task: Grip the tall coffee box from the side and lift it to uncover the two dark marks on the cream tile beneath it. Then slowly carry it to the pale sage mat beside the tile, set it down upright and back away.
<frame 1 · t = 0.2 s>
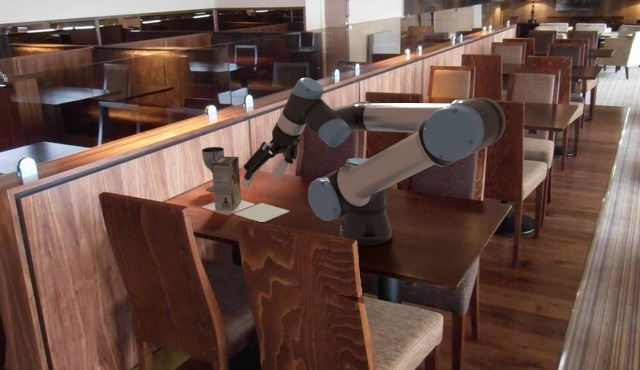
hand: (261, 180, 179), 15 cm above the table, tool tilted 35°, fingers open, 13 cm apart
wine glass: (215, 189, 221), on the table
code tile: (228, 206, 202), on the table
set down mat: (261, 213, 195), on the table
coffee box: (228, 205, 202), resting on code tile
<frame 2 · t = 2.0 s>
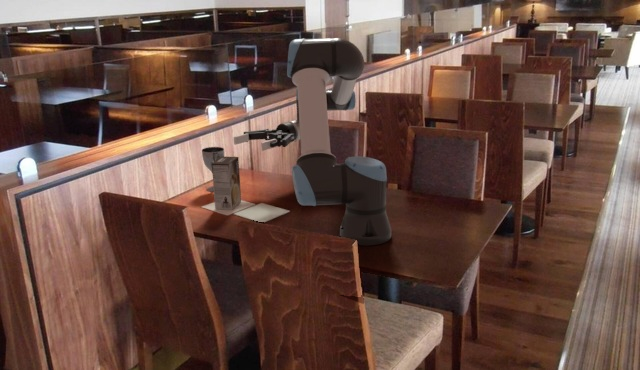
hand: (248, 143, 204), 20 cm above the table, tool horizontal, fingers open, 13 cm apart
nothing on the table moved.
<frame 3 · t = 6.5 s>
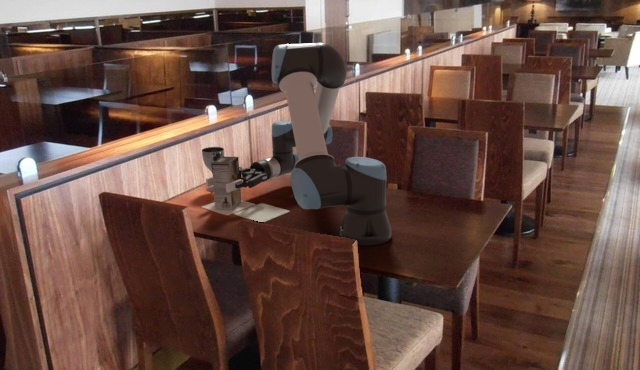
hand: (216, 185, 196), 8 cm above the table, tool horizontal, fingers closed on coffee box, 9 cm apart
coffee box: (228, 205, 202), resting on code tile, touching gripper
everything else where it was.
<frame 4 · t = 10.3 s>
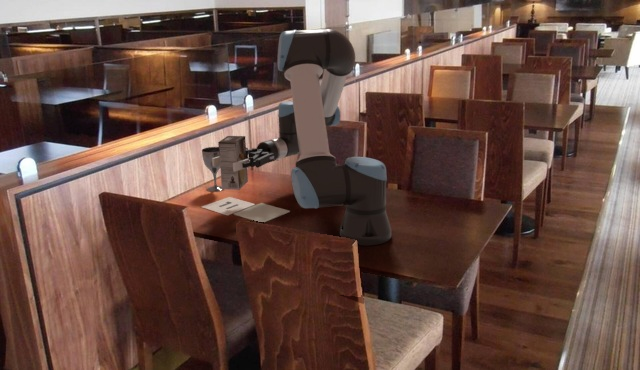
hand: (223, 164, 193), 16 cm above the table, tool horizontal, fingers closed on coffee box, 9 cm apart
coffee box: (235, 186, 199), point 7 cm above the table, touching gripper
everything else where it was.
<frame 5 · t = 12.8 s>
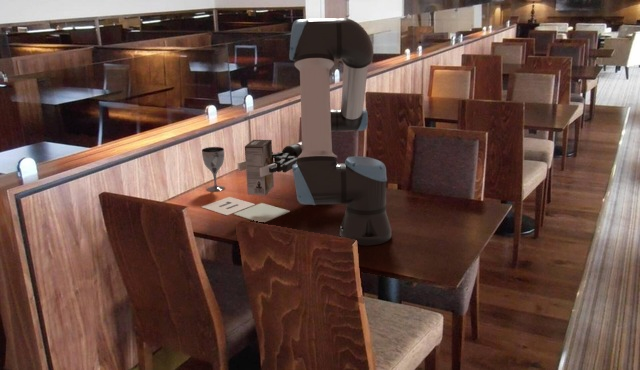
hand: (249, 169, 187), 16 cm above the table, tool horizontal, fingers closed on coffee box, 9 cm apart
coffee box: (260, 191, 193), point 8 cm above the table, touching gripper
everything else where it was.
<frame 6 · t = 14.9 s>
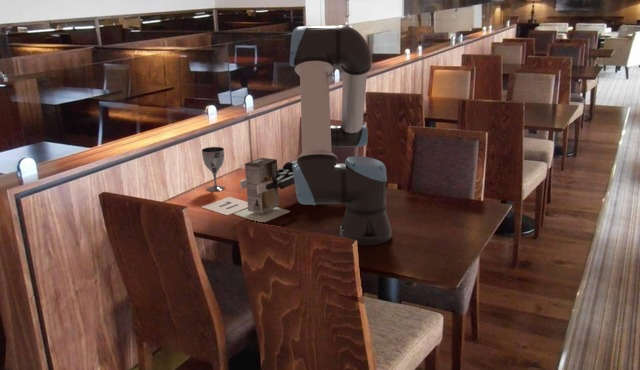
hand: (249, 187, 188), 10 cm above the table, tool horizontal, fingers closed on coffee box, 7 cm apart
coffee box: (263, 209, 195), point 1 cm above the table, touching gripper
everything else where it was.
when the fingers open (10 cm above the table, at t = 14.9 s): coffee box drops 1 cm, resting on set down mat.
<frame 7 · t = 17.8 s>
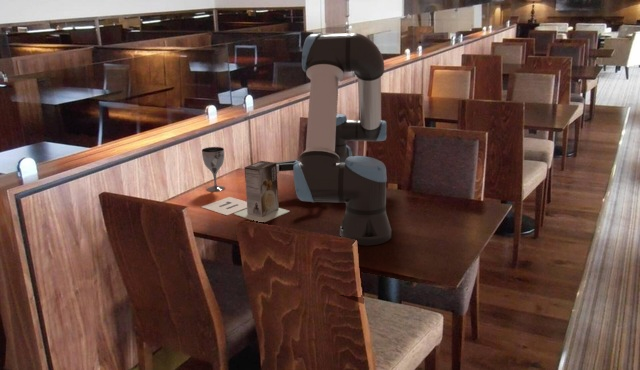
hand: (279, 176, 199), 10 cm above the table, tool horizontal, fingers open, 13 cm apart
coffee box: (263, 212, 196), resting on set down mat
everything else where it was.
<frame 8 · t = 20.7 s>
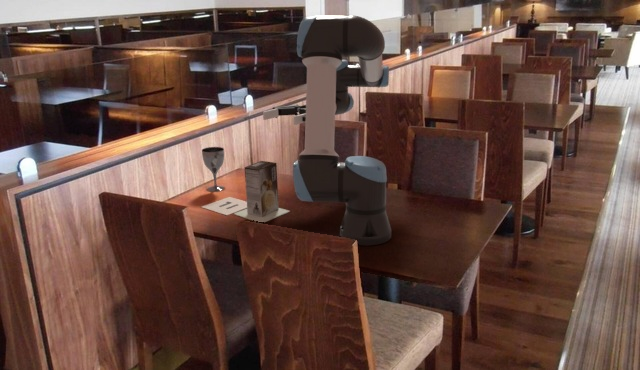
hand: (278, 118, 193), 30 cm above the table, tool horizontal, fingers open, 13 cm apart
nothing on the table moved.
at the end: coffee box inside the target area (0.7 cm from its centre), resting on set down mat; coffee box tilted 0°; the gripper is holding nothing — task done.
